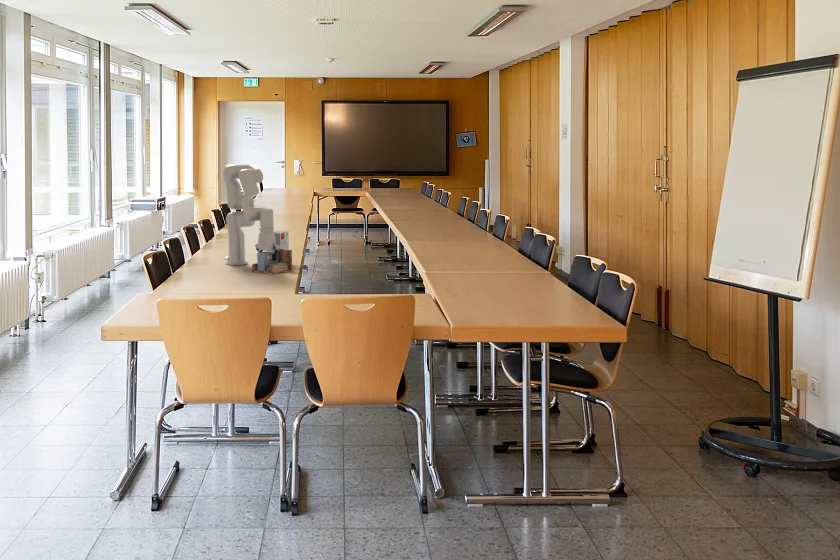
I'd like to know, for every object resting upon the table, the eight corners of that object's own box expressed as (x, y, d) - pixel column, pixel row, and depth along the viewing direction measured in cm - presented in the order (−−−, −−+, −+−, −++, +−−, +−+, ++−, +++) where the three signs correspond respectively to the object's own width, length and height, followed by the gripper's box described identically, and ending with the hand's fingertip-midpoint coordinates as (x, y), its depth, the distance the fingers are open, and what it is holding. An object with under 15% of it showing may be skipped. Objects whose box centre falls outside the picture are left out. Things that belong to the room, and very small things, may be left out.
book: (257, 270, 499) (257, 252, 498) (270, 267, 510) (270, 250, 508) (264, 270, 497) (264, 253, 495) (277, 268, 507) (277, 251, 506)
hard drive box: (280, 267, 520) (279, 233, 516) (268, 266, 521) (267, 233, 518) (289, 263, 535) (288, 230, 531) (277, 262, 536) (276, 230, 533)
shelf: (252, 271, 500) (251, 251, 498) (270, 268, 513) (270, 248, 511) (274, 274, 492) (274, 253, 490) (292, 270, 506) (291, 249, 504)
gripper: (250, 230, 501) (251, 259, 503) (274, 231, 492) (275, 262, 495) (259, 229, 507) (260, 258, 510) (283, 230, 499) (283, 260, 501)
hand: (267, 260), depth 502 cm, fingers open, 9 cm apart
